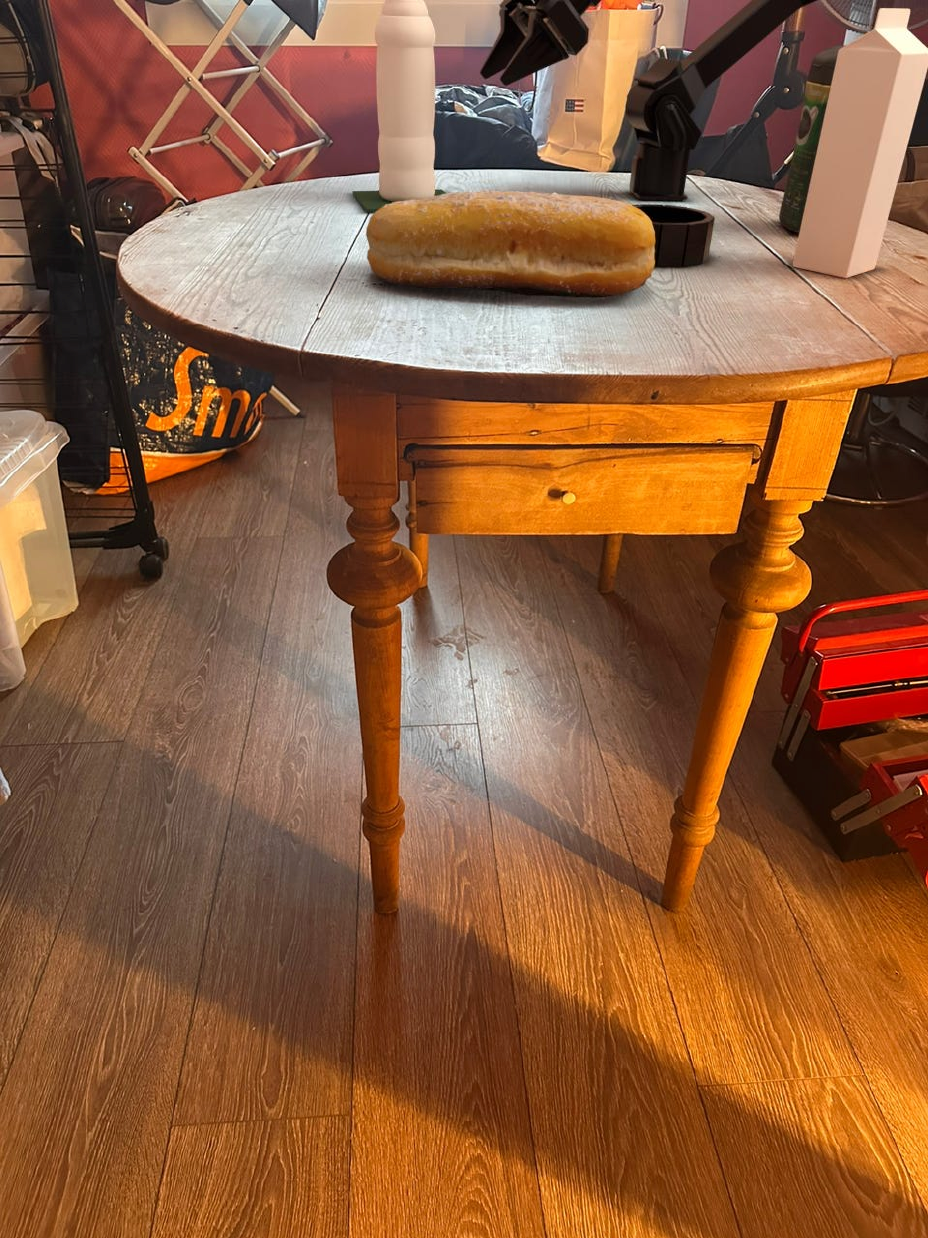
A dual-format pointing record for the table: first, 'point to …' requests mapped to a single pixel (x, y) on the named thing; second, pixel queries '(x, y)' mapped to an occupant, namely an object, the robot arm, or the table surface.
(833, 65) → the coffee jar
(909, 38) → the milk
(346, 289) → the table surface
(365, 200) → the mat
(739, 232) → the table surface
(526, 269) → the bread
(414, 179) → the water bottle
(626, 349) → the table surface
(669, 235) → the holder
